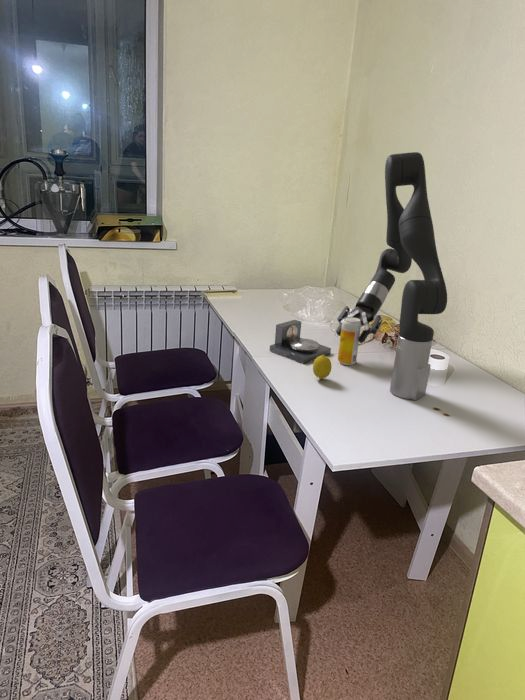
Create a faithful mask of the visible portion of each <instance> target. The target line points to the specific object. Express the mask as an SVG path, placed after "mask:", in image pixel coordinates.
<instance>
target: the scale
mask: <svg viewBox="0 0 525 700" xmlns="http://www.w3.org/2000/svg"><path fill="white" fill-rule="evenodd" d="M301 328H302V321H300V320H297V319H291V320H288V321H285V322H281V323H278V324H275V333H274V343H273V344H269V352H271V353H274V354H277V355H279V356H282V357H284V358H287V359H290V360H292V361H294V360H295V361H294V362H296V363H297V362H298V363H301V364H302V363H303V364H306V362H307V363H309V362H312V361H315V360H314V359H316V358H317V357H319V356H321V355H325V356H328V355H331V352H332V348H331V347H329V346H326V345H323V344H320V343H319V348H318V349H317V350H314V351H300V350H296V349H293V348H291V347H290V341H291V340H293V339H299V338H301V333H302V332H301V331H302V329H301ZM311 360H312V361H311Z"/></svg>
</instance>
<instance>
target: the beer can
mask: <svg viewBox="0 0 525 700" xmlns="http://www.w3.org/2000/svg"><path fill="white" fill-rule="evenodd" d="M361 327H362V325H361V322H360V319H358V318H354V317H345V318H344V320H343V321H342V327H341V336H340V337H339V345H338V346H339V347H338V355H337V361H338V363H339V362H340V363H341V365H344V366H353V365H355V363H357V358H358V349H359V343H360V342H359V341H358V338H359V337H360V335H361ZM340 363H339V364H340Z"/></svg>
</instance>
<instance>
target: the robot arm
mask: <svg viewBox="0 0 525 700" xmlns="http://www.w3.org/2000/svg"><path fill="white" fill-rule="evenodd" d="M384 166H385V168H384V180H385V182H384V183H385V184H384V185H385V201H386V202H385V204H386V219H387V220H386V221H387V223H386V239H385V240H386V244H387V246H389V247H390V248H386V249H384V250H383V251H382V252H381V254H380V257H379V260H378V265H377V269H376V270H375V274H374V276H373V277H372V279H371V280H370V282H369V283H368V285H367V286H366V287H365V289H364V290H363V291H362V294H361V295H360V296H359V298H358V300H357V302H356V304H355V307H354V308H350V307H349V306H348V305H346V306H345V307H344V308H343V309H342V311H341V313H340V314H339V315H338V316H337V321H338V324H339V325H338V326H337V328H336V330H335V331H336V335H337V336H341V327H342V321H343V320H344V318H345V317H354V318H358V319H360V322H361V327H362V326H364V330H362V331H361V332H360V336H359V338H358V341H359V343H361V344H362V343H365V341H366V339H367V338H368V337H369V335H370V334H373V335H376V334H377V332H378V330H379V329H380V326H381V325H382V323H383V321H384V320H383V318H382V317H381V315H380V314H378V312H379V311H380V309H381V308H382V306H383V304H384V302H386V299H387V296H388V294H389V293H390V291H391V290H392V287H393V286H394V284H395V281H396V277H395V275H394V274H393V273H392V272H396V273H399V274H405V273H407V272H408V271H409V270H410V269H411V266H412V261H414V262H415V264H416V265H417V266H418V268H419V270H420V272H421V274H422V276H423V279H410V280H408V281H407V282H406V283H405V284H404V287H403V291H402V296H401V304H400V305H401V306H400V307H401V308H400V315H399V324H398V325H399V329H398V330H399V331H398V335H397V336H398V337H397V343H396V349H395V356H394V361H393V368H392V374H391V380H390V385H389V392H390V393H391V394H392V395H394V396H396V397H398V398H402V399H407V400H412V401H417V400H419V399H420V398H423V397H424V396H425V395H426V392H427V386H428V381H429V377H430V371H431V367H432V366H431V364H430V363H429V362H430V361H429V360H430V355H431V349H432V345H433V340H434V335H435V334H434V333H435V331H434V328H432V327H431V326H429V325H428V324H426V323H423V322H421V321H419V315H440V314H442V313H443V312H444V311H445V310H446V308H447V306H448V305H447V303H448V292H447V290H448V289H447V286H446V282H445V281H446V280H445V278H444V275H443V270H442V267H441V264H440V259H439V256H438V249H437V246H436V238H435V237H436V236H435V229H434V224H433V219H432V213H431V209H430V208H431V207H430V203H429V199H428V197H429V196H428V192H427V191H428V189H427V178H426V166H425V159H424V157H423V154H422V153H421V152H415V151H414V152H412V151H411V152H402V153H394V154H390V155H388V156H387V158H386V161H385V165H384ZM404 186H413V191H412V193H411V197H410V199H409V201H408V202H407V204H406V205H405V208H404V207H403V206H402V203H401V201H400V200H399V198H398V195H397V188H398V187H404ZM388 270H389V271H388ZM390 271H392V272H390ZM377 314H378V315H377ZM372 321H373V323H372V325H370V323H371V322H372Z"/></svg>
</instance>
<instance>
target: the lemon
mask: <svg viewBox="0 0 525 700" xmlns="http://www.w3.org/2000/svg"><path fill="white" fill-rule="evenodd" d="M312 371H313V374H314V375H315V377H316V378H318V379H319V380H323V379H326V378H327V377H329V375H330V374H331V372H332V362H331V358H329V357H328V355H321V356H319V357H317V358H316V359H315V360H313V365H312Z"/></svg>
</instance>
